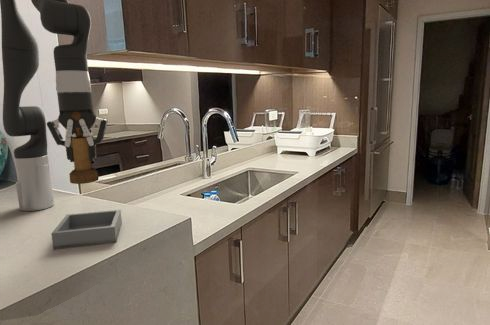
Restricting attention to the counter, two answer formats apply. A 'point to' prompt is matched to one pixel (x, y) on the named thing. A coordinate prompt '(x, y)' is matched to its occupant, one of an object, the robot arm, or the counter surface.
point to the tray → (87, 229)
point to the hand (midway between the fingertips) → (82, 160)
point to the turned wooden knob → (81, 158)
